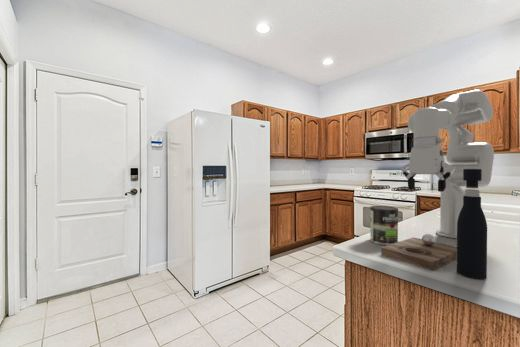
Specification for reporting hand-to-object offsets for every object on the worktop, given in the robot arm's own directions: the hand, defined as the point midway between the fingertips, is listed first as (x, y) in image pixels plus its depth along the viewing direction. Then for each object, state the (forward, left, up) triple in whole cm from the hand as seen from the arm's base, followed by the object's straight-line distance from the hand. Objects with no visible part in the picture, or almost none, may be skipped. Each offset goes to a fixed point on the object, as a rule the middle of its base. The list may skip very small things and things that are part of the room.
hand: (425, 190), depth 87 cm
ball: (+1, +1, -18) cm, 18 cm away
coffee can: (+2, -15, -22) cm, 27 cm away
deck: (+6, +1, -22) cm, 23 cm away
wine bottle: (+11, +16, -22) cm, 30 cm away
